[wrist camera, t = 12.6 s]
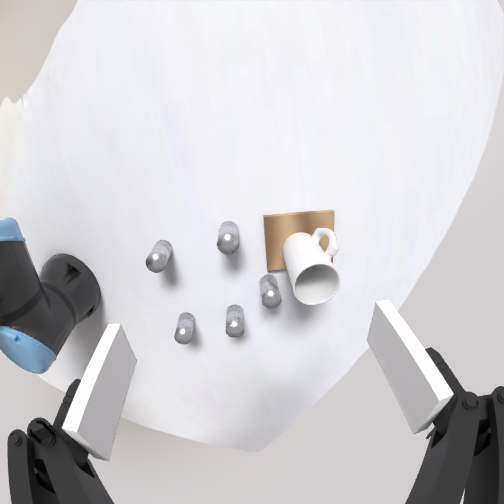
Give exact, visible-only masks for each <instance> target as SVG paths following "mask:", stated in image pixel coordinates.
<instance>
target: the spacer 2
mask: <svg viewBox="0 0 504 504" xmlns="http://www.w3.org/2000/svg"><path fill="white" fill-rule="evenodd" d="M194 320H195V318H194V316H193V315H192V314H190V313H182V314H181V315H180V316H179V320H178V324H177V328H176V332H175V336H174V338H175V340H176V341H177V342H178V343H180V344H188V343H190V341H191V337H192V331H193V326H194Z"/></svg>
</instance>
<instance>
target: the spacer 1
mask: <svg viewBox="0 0 504 504" xmlns="http://www.w3.org/2000/svg"><path fill="white" fill-rule="evenodd" d="M171 252H172V245H171V244H170V243H169V242H168V241H166V240H160V241H158V242H157V243H156V245H155V246H154V248H153V249H152V251H151V253H150V254H149V256H148V257H147V259H146V266H147V268H148V269H149V270H150V271H152V272H155V273H158V272H161V271H162V270H163V269H164V267H165V265H166V263H167V261H168V259H169V257H170V254H171Z"/></svg>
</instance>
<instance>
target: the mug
mask: <svg viewBox="0 0 504 504" xmlns="http://www.w3.org/2000/svg"><path fill="white" fill-rule="evenodd" d="M325 235H327V236H328V237H329V245H328V248H327V250H326V251H325V252H324V251H323V250H322V248H321V247H320V245H319V241H320V240H321V238H322V237H323V236H325ZM338 250H339V249H338V247H337V239H336V236H335V233H334V232H333V231H332V230H330V229H328V228H317V229H316V230H315V232H314V234H313V235H312V236H311V235H310V234H308V233H304V232H298V233H294V234H292V235H291V236H289V237H288V238H287V239H286V240H285V242H284V244H283V247H282V253H283V257H284V261H285V265H286V268H287V272H288V275H289V279H290V282H291V286H292V289H293V292H294V295H295V297H296V298H297V299H298V300H299V301H300V302H301V303H303V304H306V305H318V304H322V303H324V302H326V301H328V300H329V299H331V298H332V297H333V296H334V295H335V293H336V292H337V290H338V288H339V285H340V275H339V273H338V271H337V269H336V268H335V267H334V265H333V264H332V262H331V258H332V257H333V256H334V255H335V254H336V253H337V252H338Z"/></svg>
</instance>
